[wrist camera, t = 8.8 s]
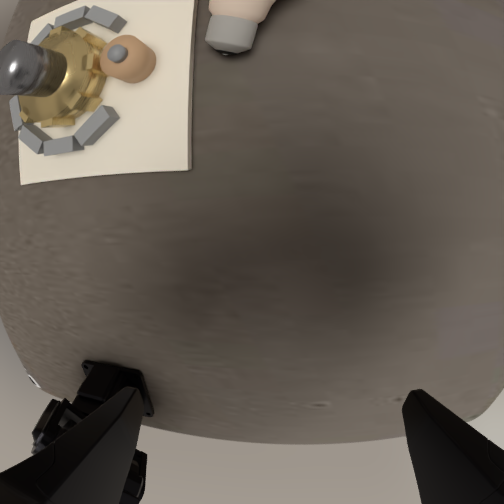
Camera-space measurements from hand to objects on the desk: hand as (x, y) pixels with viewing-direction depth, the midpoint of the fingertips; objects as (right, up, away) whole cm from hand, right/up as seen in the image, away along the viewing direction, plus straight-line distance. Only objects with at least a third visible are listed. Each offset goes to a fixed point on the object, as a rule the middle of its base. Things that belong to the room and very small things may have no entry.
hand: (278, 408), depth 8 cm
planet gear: (-13, +16, +6) cm, 22 cm away
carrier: (-11, +17, +7) cm, 21 cm away
